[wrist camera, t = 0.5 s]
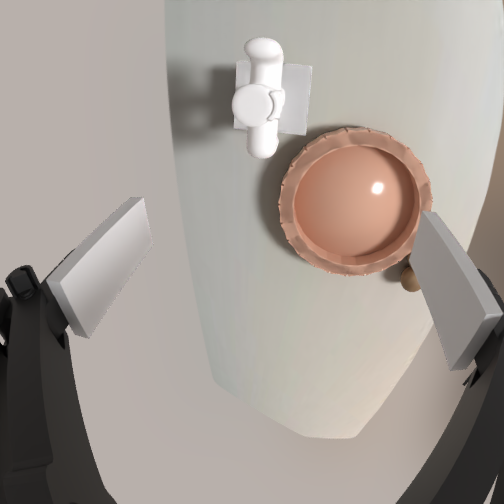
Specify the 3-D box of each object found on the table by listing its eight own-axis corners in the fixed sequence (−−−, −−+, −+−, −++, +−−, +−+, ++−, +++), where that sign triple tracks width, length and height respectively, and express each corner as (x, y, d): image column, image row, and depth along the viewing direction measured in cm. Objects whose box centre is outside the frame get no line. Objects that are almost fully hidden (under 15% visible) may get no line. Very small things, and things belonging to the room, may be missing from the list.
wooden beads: (407, 237, 35) (415, 252, 32) (448, 241, 34) (458, 256, 31) (395, 280, 39) (400, 296, 36) (433, 282, 38) (440, 298, 35)
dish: (281, 119, 30) (279, 122, 28) (436, 138, 28) (445, 144, 25) (277, 258, 40) (275, 271, 38) (406, 268, 38) (411, 280, 36)
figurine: (239, 133, 32) (198, 172, 19) (244, 53, 27) (200, 34, 14) (304, 139, 31) (306, 183, 19) (311, 58, 26) (322, 40, 13)
